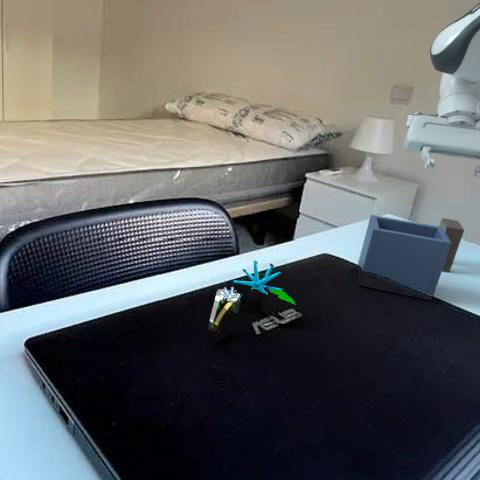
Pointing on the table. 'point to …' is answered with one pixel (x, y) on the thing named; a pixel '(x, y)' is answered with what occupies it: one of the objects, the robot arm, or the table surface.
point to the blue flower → (260, 284)
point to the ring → (232, 302)
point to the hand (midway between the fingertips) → (454, 171)
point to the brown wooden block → (451, 240)
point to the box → (405, 252)
